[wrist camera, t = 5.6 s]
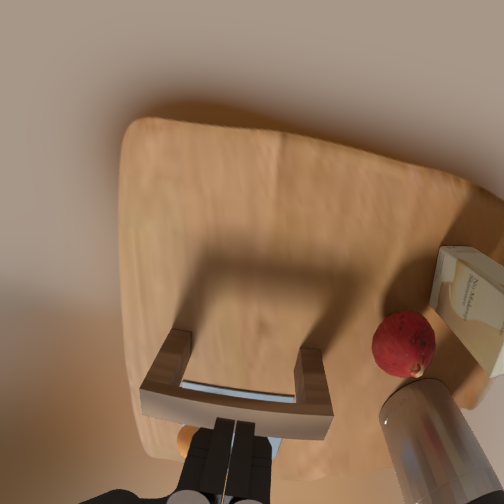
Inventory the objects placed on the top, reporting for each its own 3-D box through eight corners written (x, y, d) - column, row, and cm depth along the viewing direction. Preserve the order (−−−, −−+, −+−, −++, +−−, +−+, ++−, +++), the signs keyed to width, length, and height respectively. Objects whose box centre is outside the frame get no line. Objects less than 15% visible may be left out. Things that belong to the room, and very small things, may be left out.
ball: (228, 462, 28) (222, 468, 31) (228, 416, 32) (222, 428, 35) (175, 458, 27) (176, 465, 30) (178, 411, 31) (178, 424, 35)
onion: (381, 289, 28) (413, 333, 20) (427, 306, 28) (464, 349, 20) (353, 340, 29) (373, 394, 22) (398, 353, 29) (426, 403, 22)
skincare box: (438, 244, 26) (518, 298, 14) (472, 245, 26) (553, 294, 14) (426, 307, 28) (488, 381, 16) (460, 305, 28) (525, 371, 16)
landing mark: (182, 380, 32) (182, 381, 32) (294, 396, 32) (294, 397, 31) (183, 445, 35) (182, 446, 35) (274, 458, 35) (274, 459, 35)
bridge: (171, 328, 30) (139, 388, 21) (319, 349, 30) (334, 416, 21) (171, 353, 31) (142, 414, 22) (313, 373, 31) (323, 440, 22)
